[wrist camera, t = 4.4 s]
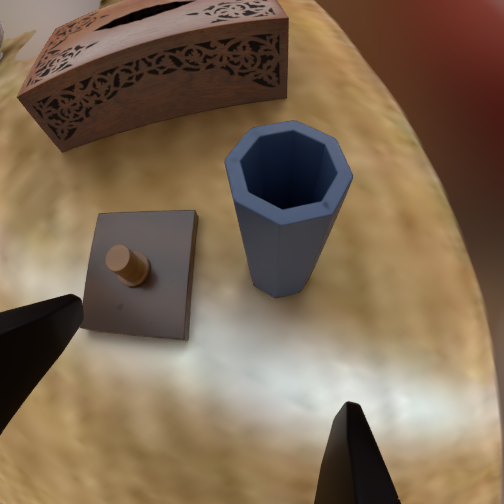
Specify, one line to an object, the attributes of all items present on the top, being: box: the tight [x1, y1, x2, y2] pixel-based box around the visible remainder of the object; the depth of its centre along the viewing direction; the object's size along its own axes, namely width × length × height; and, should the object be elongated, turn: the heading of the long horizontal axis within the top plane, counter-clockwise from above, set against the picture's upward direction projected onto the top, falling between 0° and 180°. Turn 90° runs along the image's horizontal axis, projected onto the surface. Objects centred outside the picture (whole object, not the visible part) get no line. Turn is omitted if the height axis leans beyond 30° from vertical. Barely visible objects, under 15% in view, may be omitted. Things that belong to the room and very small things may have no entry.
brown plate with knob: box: [80, 210, 198, 340], centre depth 22 cm, size 10×9×4 cm
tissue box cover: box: [17, 0, 289, 152], centre depth 27 cm, size 26×14×10 cm, turn 100°
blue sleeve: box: [225, 120, 353, 298], centre depth 17 cm, size 5×5×13 cm
